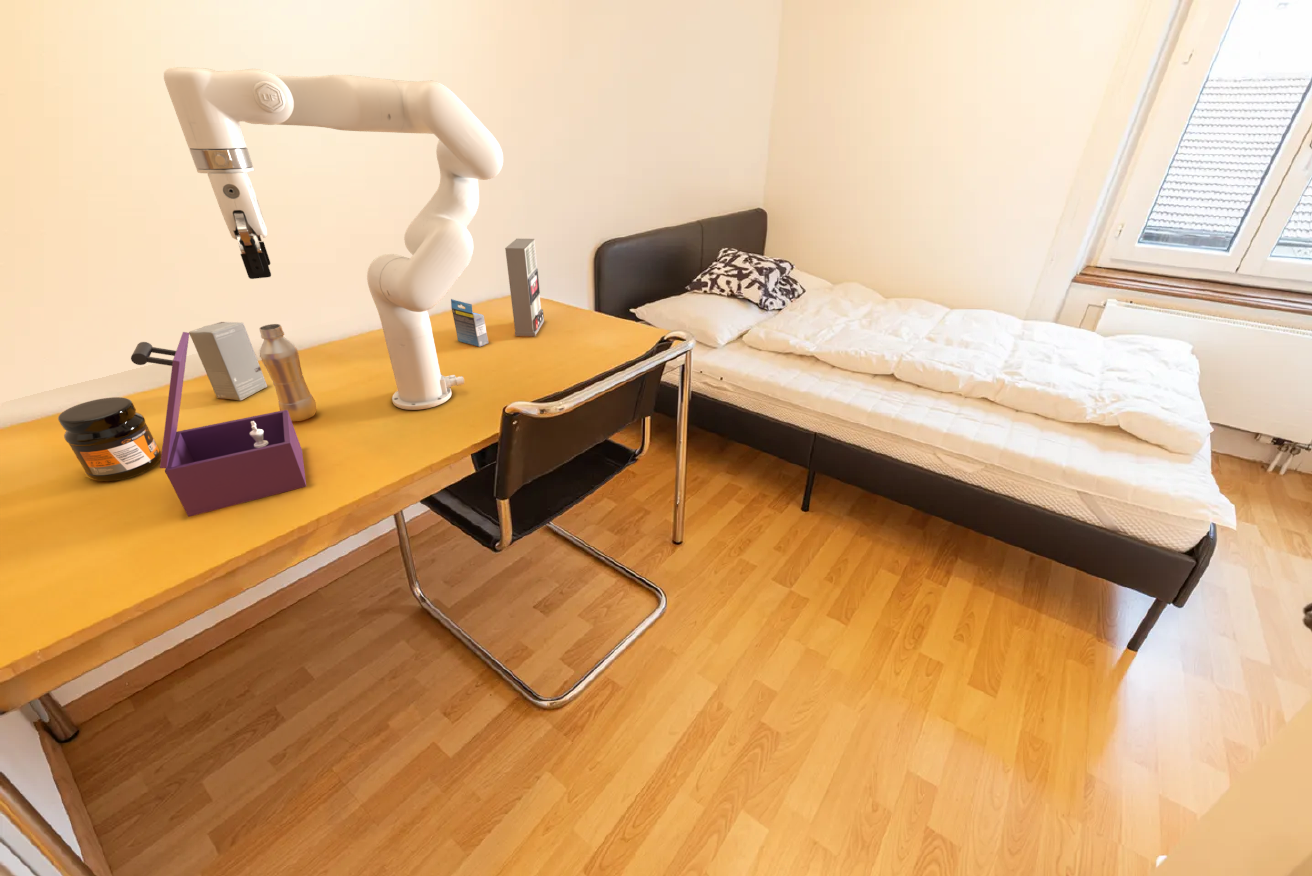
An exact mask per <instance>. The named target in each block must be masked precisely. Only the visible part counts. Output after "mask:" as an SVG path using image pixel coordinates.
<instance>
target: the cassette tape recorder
mask: <svg viewBox="0 0 1312 876" xmlns="http://www.w3.org/2000/svg"><path fill="white" fill-rule="evenodd" d="M504 249H505V257H506V266H507V274H508V282H509V283H508V284H509V290H510V291H509V292H510V300H511V309H512V316H513V324H514V336H515V337H532V338H534V337H537V334H538V332H539V331H540V329H541V327H542V326H543V324H544V323H545V315H544V309H543V308H542V304H541V296H540V295H541V290H540V280H539V269H538V261H537V251H536V239H535V238H515V239H514V240H513V241H512V242H511V243H509V244H508V245H507V246H506V247H505V248H504Z"/></svg>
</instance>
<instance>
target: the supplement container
mask: <svg viewBox="0 0 1312 876" xmlns="http://www.w3.org/2000/svg"><path fill="white" fill-rule="evenodd" d="M57 420H58V422H59V423H60V424H59V425H61V427H62V429H63V430H65V431H64V434H63V437H64V440H65V442H66V443H67V444H68V445H69V446H70V448H71V450H72V451H73V453H74V455H75V457H76V458H77V460H78V462H79V463H80V465H81V466H82V468H83V470H84V473H85V474H86V476H87V477H88V478H90V479H91V480H94V481H97V482H115V481H121V480H126V479H130V478H132V477H136V476H139V475H141V474H143V473H146V472H148V471H150V470H151V469H152V468H154V467H155V466H156V465H157V464H158V463H159V462H161V455H162V450H161V449H160V448H159V447H158V445H157V442H156V441H155V438H154V437H153V436H154V435H152V432H151V431H150V428H149V427H148V424H147V422H146V418H145V417H144V415H143V414H141V413H139V412H137V409H136V407H135V405H134V402H133V401H132V400H131V399H130V398H127V397H121V396H119V397H117V396H115V397H105V398H103V397H102V398H98V399H93V400H89V401H85V402H82V403H79V404H76V405H74V406H72V407H69V408H67V409H66V410H64V411H62V412H61V413H60V414H59V415H58V416H57Z"/></svg>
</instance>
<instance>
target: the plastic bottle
mask: <svg viewBox="0 0 1312 876" xmlns="http://www.w3.org/2000/svg"><path fill="white" fill-rule="evenodd" d="M259 333H260V338H261V339H262V340H263V342H262V344H261V346H260V349H259V358H260V361H261V362H262V364H263V365H264V367H265V369H266V371H267V372H268V374H269V377H270V379H271V381H272V383H273V386H274V388H275V389H274V390H275V393H276V397H277V401H278V408H279V411H283V410H288V413H289V415H290V418H291V421H292V422H301V421H305V420H308V419H310V418H312V417H314V416H315V415H316V413H317V410H318V408H317V402H316V400H315V398H314V396H313V395H312V393H311V392H310V389H309V388H308V384H307V383H306V381H305V378H304V374H303V370H302V367H301V361H300V355H299V350H298V348H297V346H295V344H294V343H293V342H291V341H290V340H289V339H287V338H285V336H284V335H285V331H284V330H283V326H282V325H281V324H279V323H271V324H265V325H262V326H261V327H259Z"/></svg>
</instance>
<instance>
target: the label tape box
mask: <svg viewBox="0 0 1312 876" xmlns="http://www.w3.org/2000/svg"><path fill="white" fill-rule="evenodd" d="M460 306H462V307H460ZM463 307H464V308H463ZM450 308H451V313H452V317H453V318H452V319H453V322H454V326H455V328H454V329H455V332H456V336H457V342H460V343H463V344H468V345H471V346H475V347H478V348H480V347H484V346H485V345H487V344H489V337H488V332H487V327H486V321H485V316H484V314H482V313H478V312H477V313H476V312H473V311H474V310H473V304H472V303H469V302H464V301H461V300H456V299H453V298H450Z"/></svg>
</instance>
